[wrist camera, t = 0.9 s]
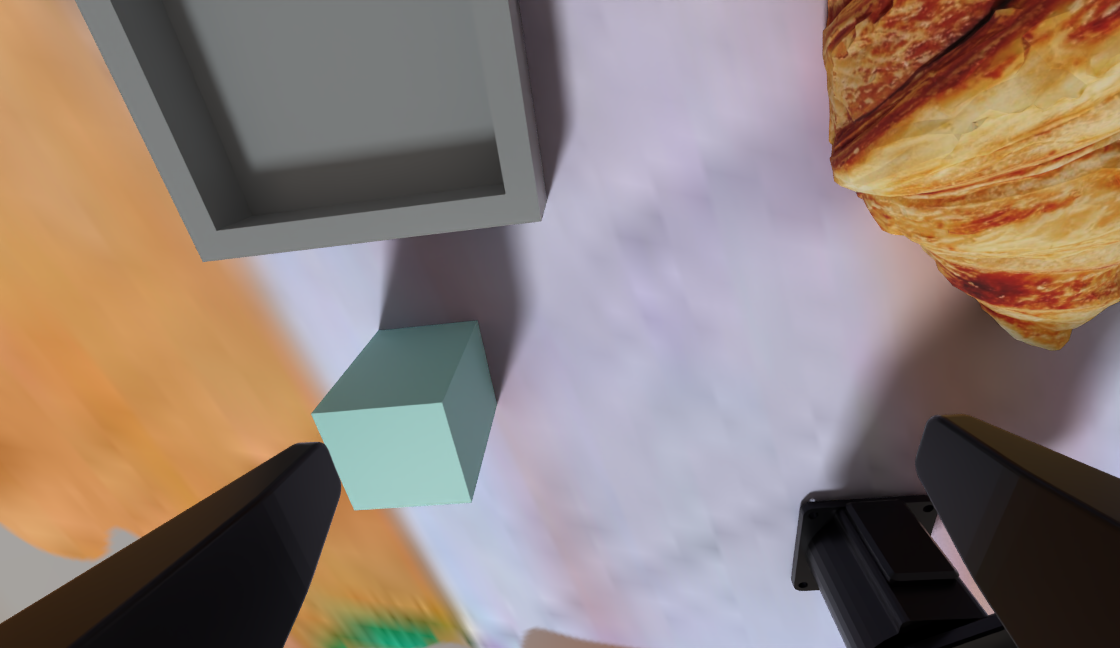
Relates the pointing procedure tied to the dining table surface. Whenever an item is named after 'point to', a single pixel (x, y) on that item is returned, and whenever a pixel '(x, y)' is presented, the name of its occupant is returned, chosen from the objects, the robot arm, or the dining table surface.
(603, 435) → the dining table surface
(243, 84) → the bin
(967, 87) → the croissant
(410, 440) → the block
